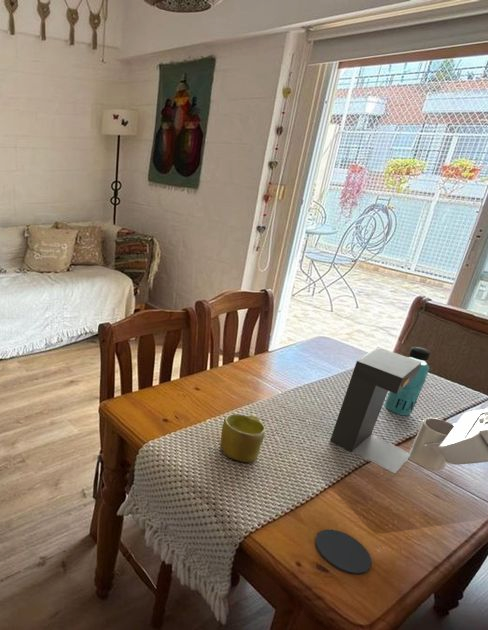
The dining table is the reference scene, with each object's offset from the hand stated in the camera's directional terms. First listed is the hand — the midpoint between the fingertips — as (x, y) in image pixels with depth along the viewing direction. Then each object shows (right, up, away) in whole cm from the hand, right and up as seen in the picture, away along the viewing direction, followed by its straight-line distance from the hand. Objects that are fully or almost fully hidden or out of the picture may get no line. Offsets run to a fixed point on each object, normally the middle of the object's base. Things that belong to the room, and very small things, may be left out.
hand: (430, 441), depth 96 cm
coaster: (-28, -16, -14) cm, 36 cm away
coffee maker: (-6, -6, +11) cm, 14 cm away
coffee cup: (0, -5, +1) cm, 5 cm away
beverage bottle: (+12, 0, +26) cm, 29 cm away
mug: (-37, -5, +11) cm, 39 cm away
